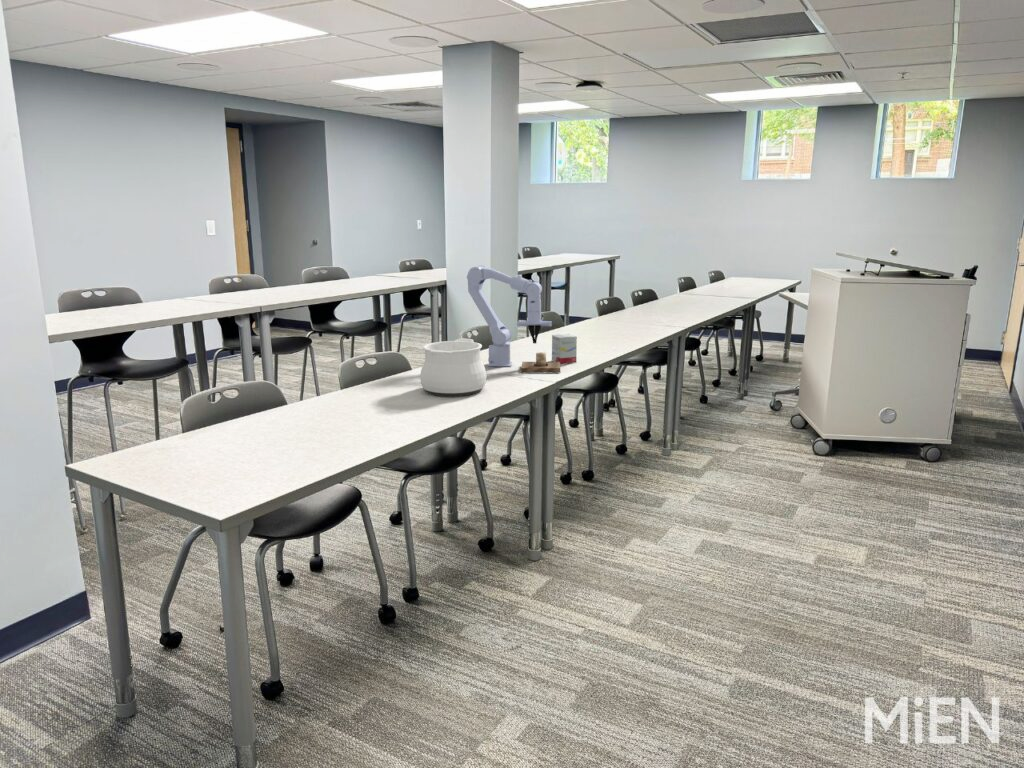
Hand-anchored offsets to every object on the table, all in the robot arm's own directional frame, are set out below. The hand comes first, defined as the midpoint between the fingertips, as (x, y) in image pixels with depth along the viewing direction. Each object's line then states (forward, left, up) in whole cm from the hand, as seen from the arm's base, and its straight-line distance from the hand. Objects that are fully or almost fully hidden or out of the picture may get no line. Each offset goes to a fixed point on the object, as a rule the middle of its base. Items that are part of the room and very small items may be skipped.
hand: (534, 343), depth 305 cm
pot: (-29, -43, -11) cm, 53 cm away
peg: (+3, -6, -10) cm, 12 cm away
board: (+3, -6, -10) cm, 12 cm away
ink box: (+13, +11, -11) cm, 20 cm away
